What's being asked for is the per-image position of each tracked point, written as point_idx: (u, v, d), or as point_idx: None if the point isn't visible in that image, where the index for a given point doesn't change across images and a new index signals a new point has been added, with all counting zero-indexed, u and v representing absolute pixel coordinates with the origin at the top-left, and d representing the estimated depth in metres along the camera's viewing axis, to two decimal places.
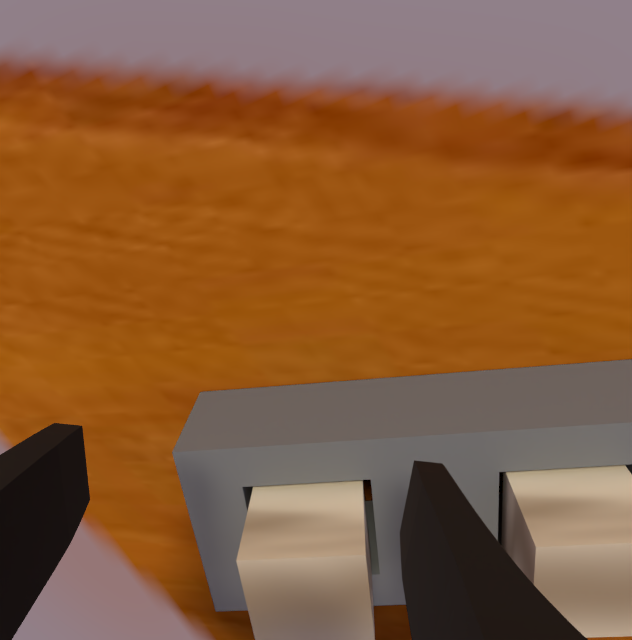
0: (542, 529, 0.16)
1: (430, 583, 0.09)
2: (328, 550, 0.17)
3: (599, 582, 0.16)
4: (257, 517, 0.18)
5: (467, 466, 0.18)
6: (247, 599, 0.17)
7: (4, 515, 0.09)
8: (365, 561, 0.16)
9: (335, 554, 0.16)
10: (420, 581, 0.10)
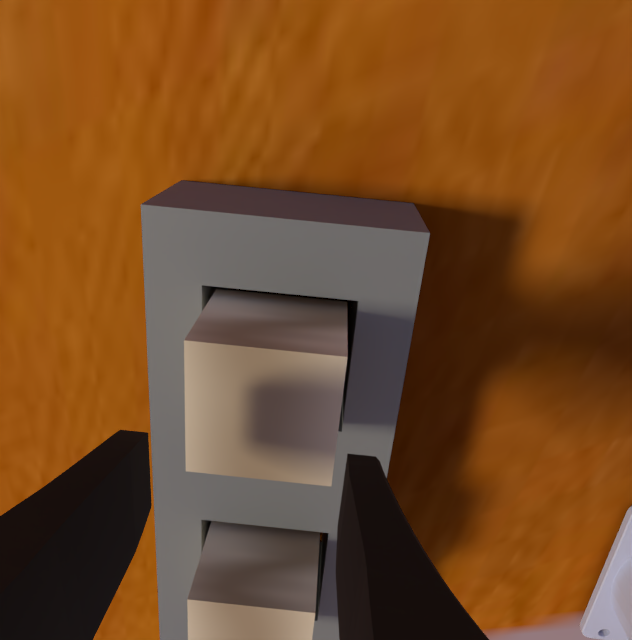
0: None
1: (350, 574, 0.09)
2: (189, 618, 0.17)
3: (243, 418, 0.14)
4: None
5: None
6: None
7: (87, 524, 0.09)
8: (196, 600, 0.17)
9: (188, 618, 0.17)
10: (345, 573, 0.10)
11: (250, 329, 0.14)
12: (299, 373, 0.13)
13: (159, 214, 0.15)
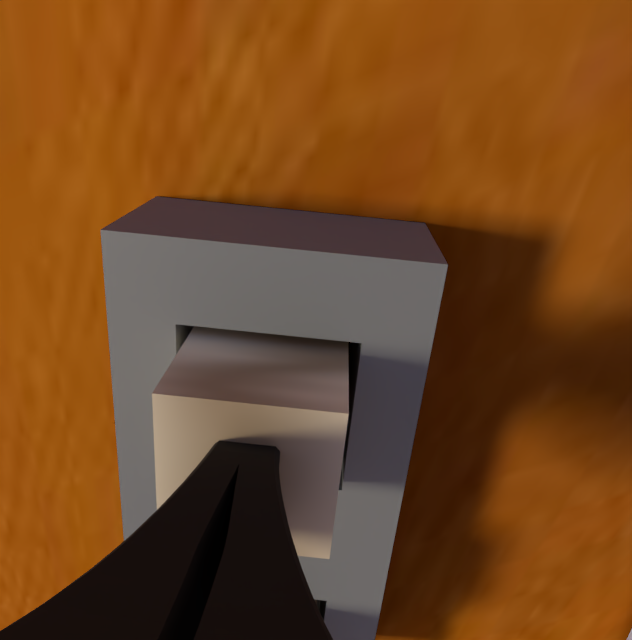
0: None
1: None
2: None
3: None
4: None
5: None
6: None
7: (213, 537, 0.09)
8: None
9: None
10: None
11: (233, 376, 0.12)
12: (290, 431, 0.11)
13: (123, 241, 0.12)
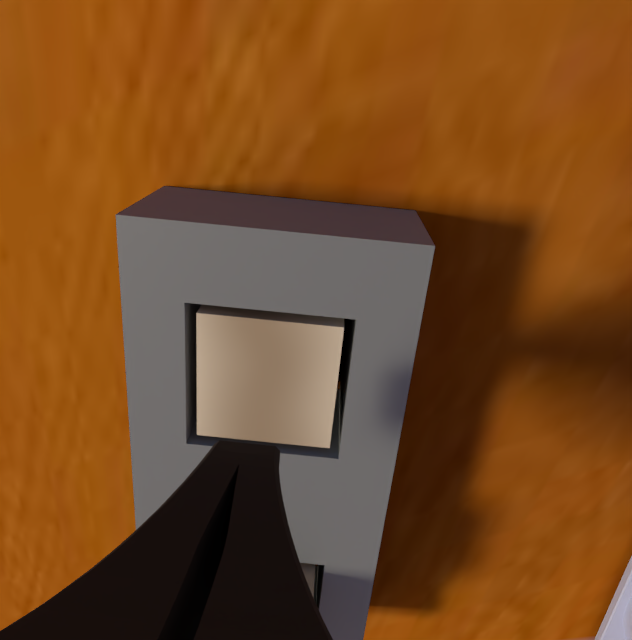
0: None
1: None
2: None
3: (250, 384, 0.15)
4: None
5: (176, 470, 0.17)
6: None
7: (213, 537, 0.09)
8: None
9: None
10: None
11: None
12: (300, 342, 0.15)
13: (136, 225, 0.14)
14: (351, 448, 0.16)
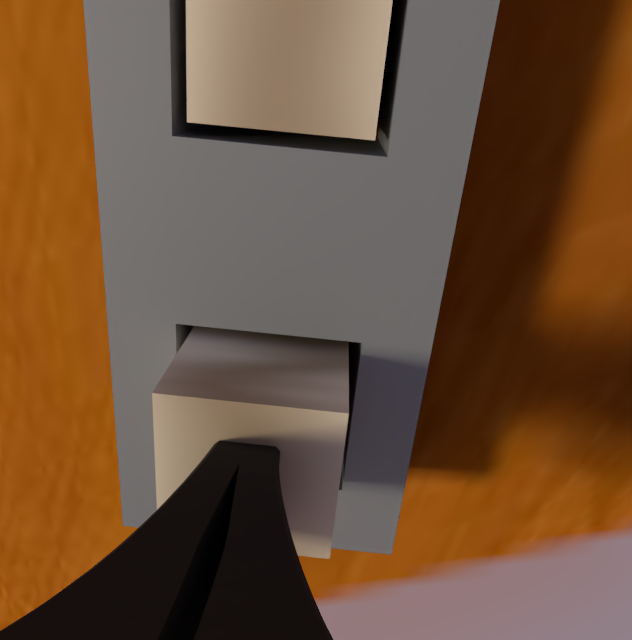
0: None
1: None
2: (157, 433, 0.12)
3: (263, 26, 0.11)
4: None
5: (159, 185, 0.12)
6: None
7: (213, 537, 0.09)
8: (167, 395, 0.11)
9: (154, 429, 0.11)
10: None
11: None
12: None
13: None
14: (406, 137, 0.11)
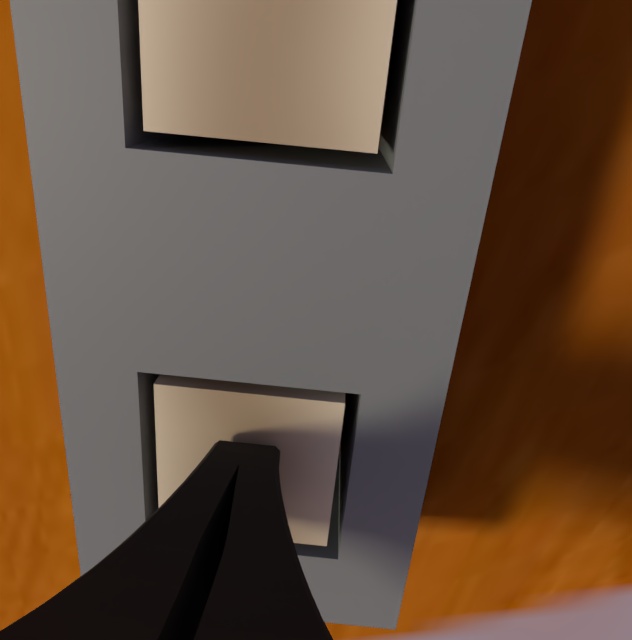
0: None
1: None
2: (158, 423, 0.12)
3: (235, 10, 0.08)
4: None
5: (111, 208, 0.10)
6: None
7: (213, 537, 0.09)
8: (168, 386, 0.11)
9: (156, 420, 0.12)
10: None
11: None
12: None
13: None
14: (416, 149, 0.09)
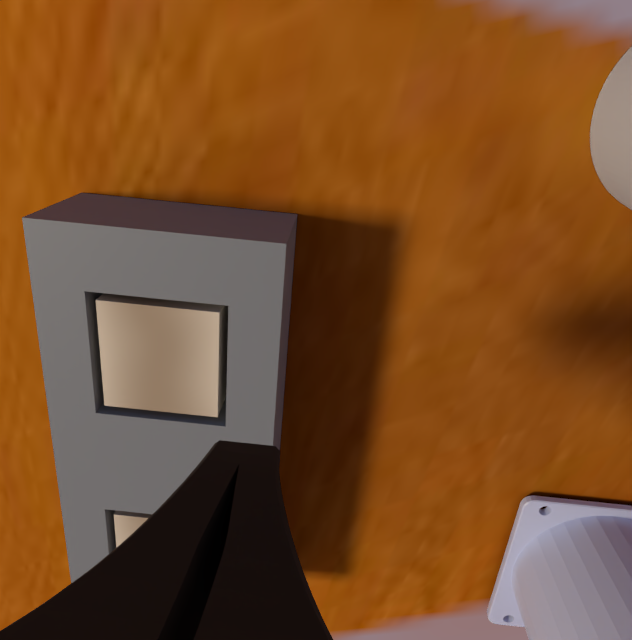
0: None
1: None
2: (117, 532, 0.22)
3: (145, 361, 0.18)
4: None
5: (89, 437, 0.19)
6: None
7: (212, 537, 0.09)
8: (121, 515, 0.21)
9: (115, 531, 0.21)
10: None
11: None
12: (184, 325, 0.18)
13: (40, 226, 0.16)
14: (235, 417, 0.19)
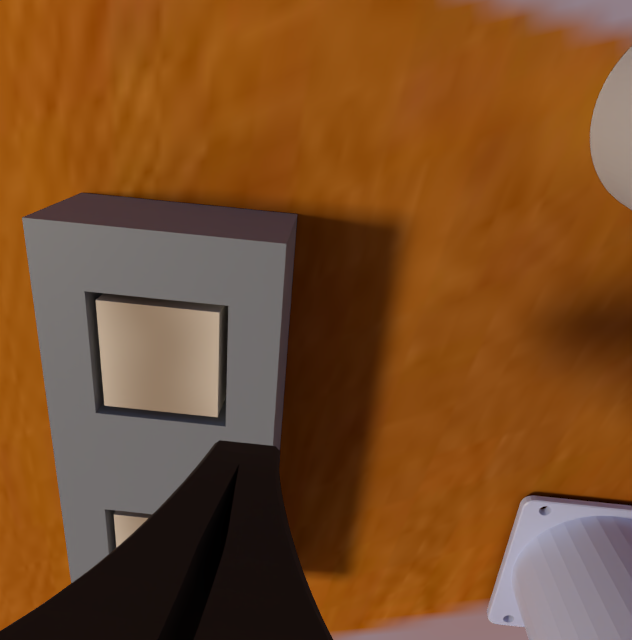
0: None
1: None
2: (117, 532, 0.22)
3: (145, 361, 0.18)
4: None
5: (89, 437, 0.19)
6: None
7: (212, 537, 0.09)
8: (121, 515, 0.21)
9: (115, 531, 0.21)
10: None
11: None
12: (184, 325, 0.18)
13: (40, 226, 0.16)
14: (235, 417, 0.19)
